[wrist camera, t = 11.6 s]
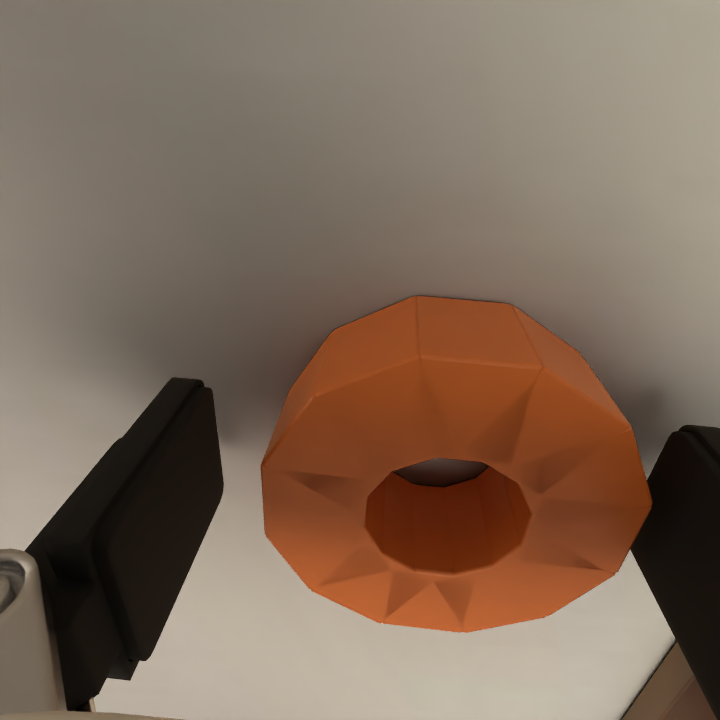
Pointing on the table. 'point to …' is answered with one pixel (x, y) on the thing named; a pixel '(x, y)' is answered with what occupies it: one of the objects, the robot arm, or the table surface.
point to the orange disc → (461, 442)
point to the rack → (671, 693)
